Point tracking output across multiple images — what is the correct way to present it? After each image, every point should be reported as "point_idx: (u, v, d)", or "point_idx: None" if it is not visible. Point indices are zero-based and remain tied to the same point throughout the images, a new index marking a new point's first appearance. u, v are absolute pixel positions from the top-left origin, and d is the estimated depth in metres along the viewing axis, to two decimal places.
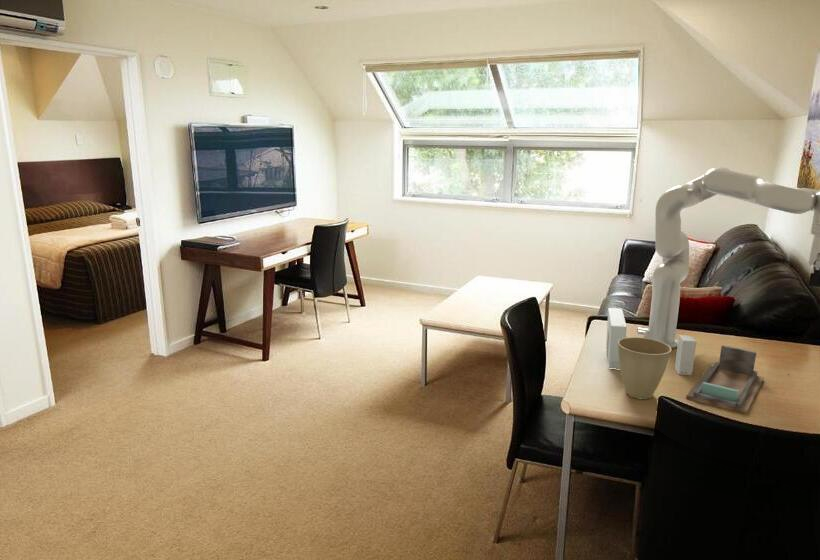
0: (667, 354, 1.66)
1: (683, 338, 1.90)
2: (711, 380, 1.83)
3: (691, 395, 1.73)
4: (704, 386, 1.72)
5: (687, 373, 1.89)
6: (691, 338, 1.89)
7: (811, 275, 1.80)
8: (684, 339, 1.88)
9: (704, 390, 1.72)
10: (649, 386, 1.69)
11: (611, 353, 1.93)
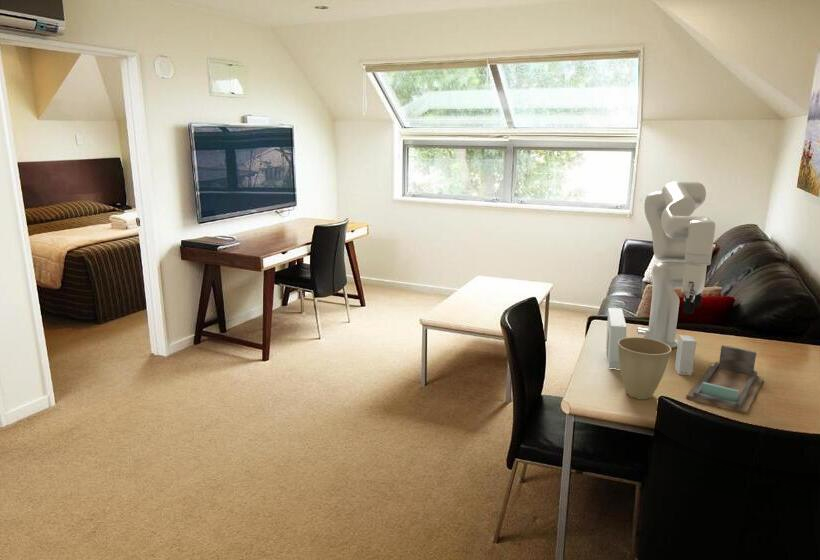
0: (667, 354, 1.66)
1: (683, 338, 1.90)
2: (711, 380, 1.83)
3: (691, 395, 1.73)
4: (704, 386, 1.72)
5: (687, 373, 1.89)
6: (691, 338, 1.89)
7: (684, 303, 1.83)
8: (684, 339, 1.88)
9: (704, 390, 1.72)
10: (649, 386, 1.69)
11: (611, 353, 1.93)
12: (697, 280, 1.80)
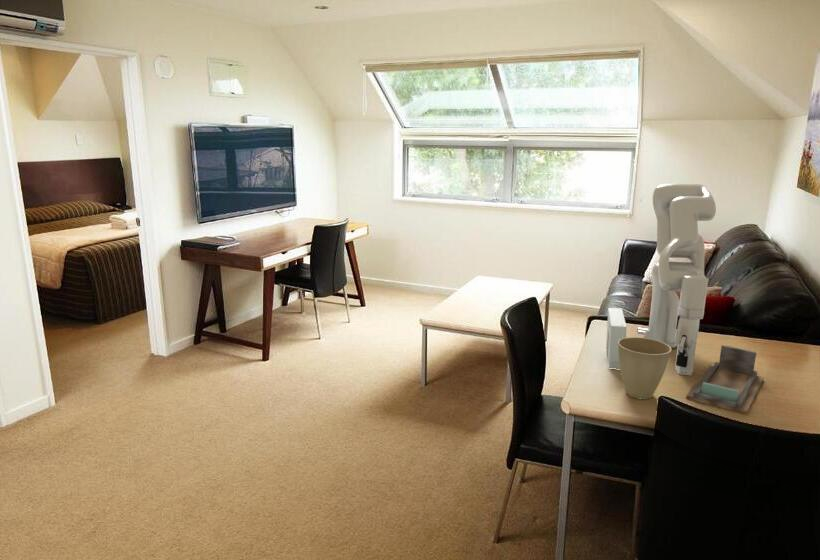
0: (667, 354, 1.66)
1: None
2: (711, 380, 1.83)
3: (691, 395, 1.73)
4: (704, 386, 1.72)
5: (687, 373, 1.89)
6: None
7: (678, 356, 1.88)
8: None
9: (704, 390, 1.72)
10: (649, 386, 1.69)
11: (611, 353, 1.93)
12: (690, 334, 1.84)
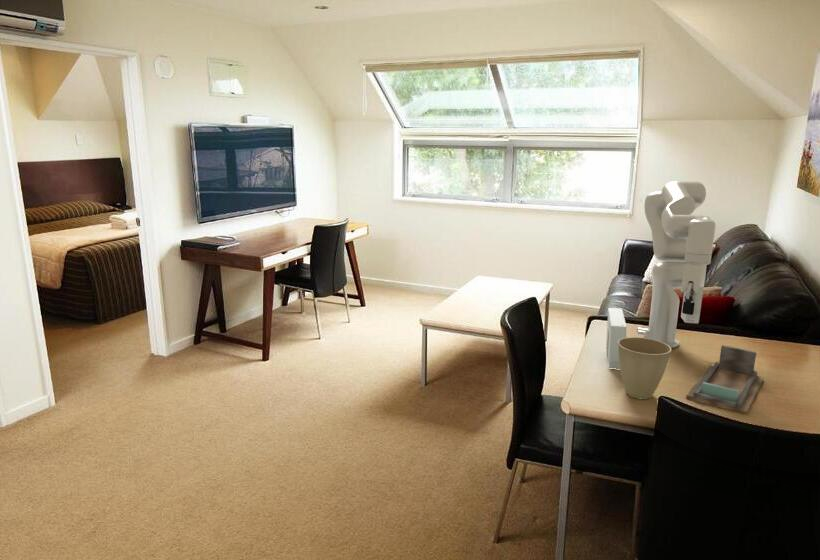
0: (667, 354, 1.66)
1: None
2: (711, 380, 1.83)
3: (691, 395, 1.73)
4: (704, 386, 1.72)
5: (694, 321, 1.85)
6: None
7: (684, 303, 1.84)
8: None
9: (704, 390, 1.72)
10: (649, 386, 1.69)
11: (611, 353, 1.93)
12: (697, 280, 1.80)
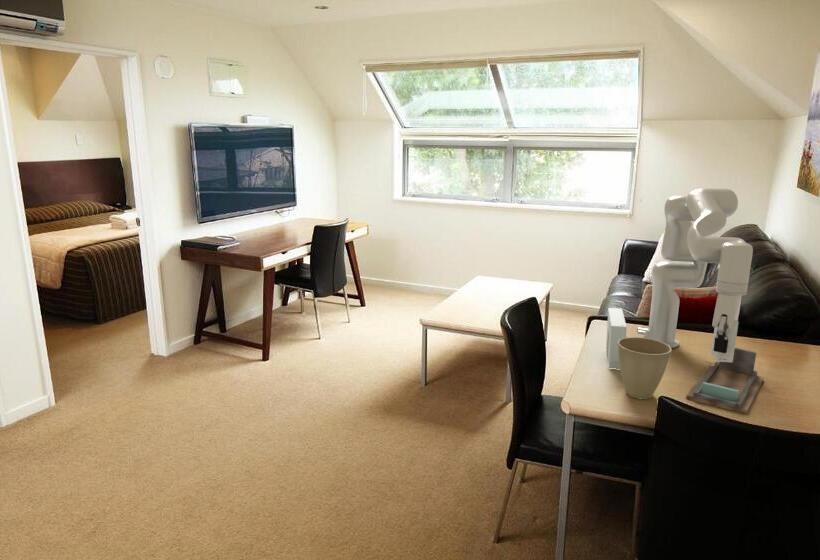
0: (667, 354, 1.66)
1: None
2: (711, 380, 1.83)
3: (691, 395, 1.73)
4: (704, 386, 1.72)
5: (727, 360, 1.59)
6: None
7: (716, 340, 1.59)
8: None
9: (704, 390, 1.72)
10: (649, 386, 1.69)
11: (611, 353, 1.93)
12: (731, 313, 1.54)
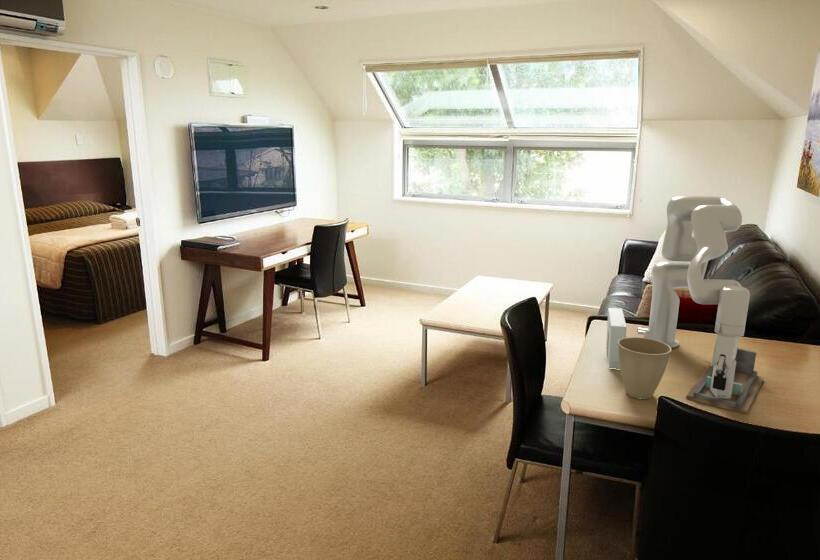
0: (667, 354, 1.66)
1: None
2: None
3: (691, 395, 1.73)
4: (708, 380, 1.76)
5: (725, 396, 1.69)
6: None
7: (715, 378, 1.68)
8: None
9: (708, 384, 1.77)
10: (649, 386, 1.69)
11: (611, 353, 1.93)
12: (729, 353, 1.64)
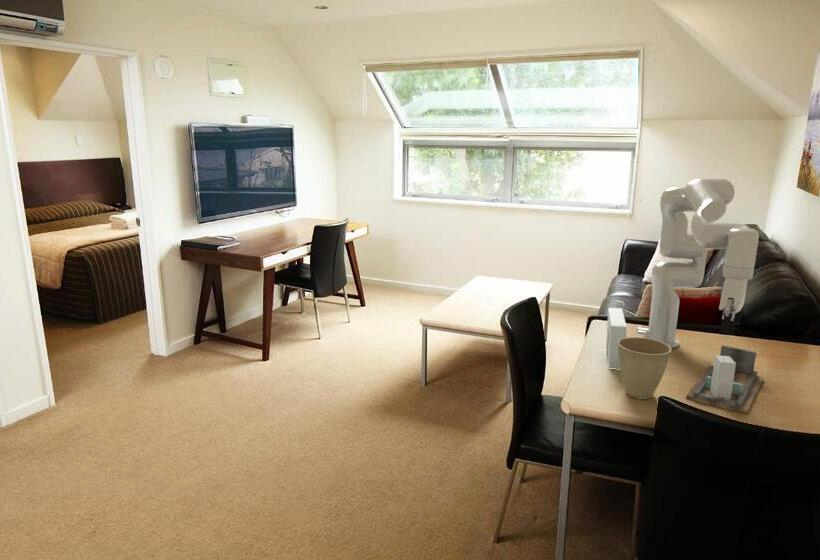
0: (667, 354, 1.66)
1: (720, 359, 1.69)
2: None
3: (691, 395, 1.73)
4: (708, 380, 1.76)
5: (725, 398, 1.69)
6: (729, 359, 1.69)
7: (722, 321, 1.63)
8: (722, 360, 1.68)
9: (708, 384, 1.77)
10: (649, 386, 1.69)
11: (611, 353, 1.93)
12: (738, 296, 1.60)
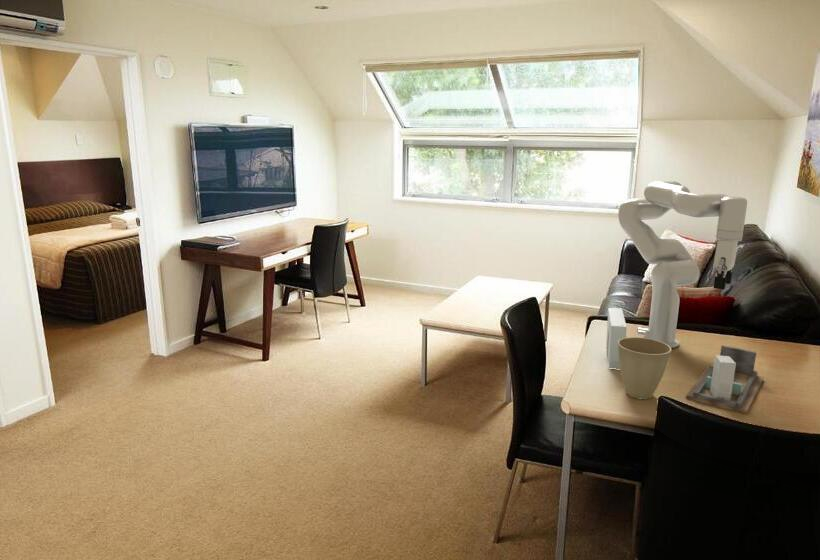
0: (667, 354, 1.66)
1: (720, 359, 1.69)
2: None
3: (691, 395, 1.73)
4: (708, 380, 1.76)
5: (725, 398, 1.69)
6: (729, 359, 1.69)
7: (715, 278, 1.87)
8: (722, 360, 1.68)
9: (708, 384, 1.77)
10: (649, 386, 1.69)
11: (611, 353, 1.93)
12: (729, 256, 1.84)
